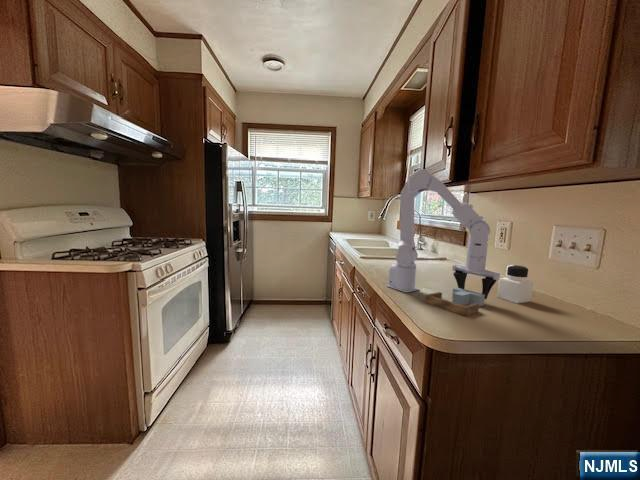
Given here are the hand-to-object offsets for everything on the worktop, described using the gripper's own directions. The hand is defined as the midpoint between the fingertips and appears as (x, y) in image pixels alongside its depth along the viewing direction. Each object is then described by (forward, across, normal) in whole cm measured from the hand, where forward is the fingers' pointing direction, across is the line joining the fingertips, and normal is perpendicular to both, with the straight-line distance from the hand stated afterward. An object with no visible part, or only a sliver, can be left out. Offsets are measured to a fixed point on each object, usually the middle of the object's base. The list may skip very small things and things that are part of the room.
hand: (472, 295), depth 93 cm
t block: (+2, 0, +4) cm, 5 cm away
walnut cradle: (+2, 0, +13) cm, 13 cm away
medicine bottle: (+2, -7, -15) cm, 16 cm away
